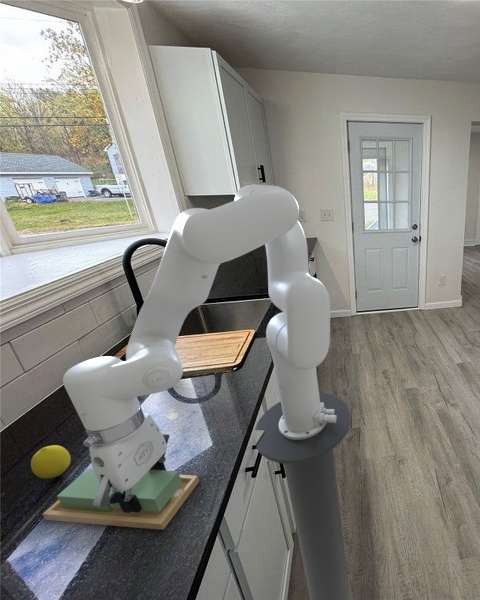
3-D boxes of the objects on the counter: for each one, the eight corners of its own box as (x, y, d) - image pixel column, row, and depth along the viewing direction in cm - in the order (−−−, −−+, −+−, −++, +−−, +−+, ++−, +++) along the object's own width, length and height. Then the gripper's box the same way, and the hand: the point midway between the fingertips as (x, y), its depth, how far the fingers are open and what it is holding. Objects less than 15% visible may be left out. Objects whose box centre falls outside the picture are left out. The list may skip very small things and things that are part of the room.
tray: (199, 481, 67) (197, 475, 67) (163, 530, 58) (160, 524, 57) (96, 473, 69) (94, 468, 69) (45, 519, 60) (42, 514, 59)
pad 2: (182, 483, 65) (178, 471, 64) (159, 512, 59) (154, 499, 58) (137, 480, 66) (132, 467, 64) (111, 508, 60) (104, 495, 59)
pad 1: (137, 484, 66) (131, 472, 65) (110, 512, 61) (104, 499, 59) (93, 480, 67) (87, 469, 66) (63, 508, 61) (56, 496, 60)
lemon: (82, 462, 72) (69, 436, 69) (63, 484, 67) (47, 456, 64) (55, 466, 71) (39, 439, 68) (32, 488, 66) (15, 460, 63)
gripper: (87, 466, 47) (127, 542, 54) (173, 393, 63) (195, 458, 70) (42, 463, 48) (87, 538, 55) (138, 391, 64) (163, 456, 71)
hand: (147, 493), depth 62 cm, fingers closed on pad 2, 6 cm apart
